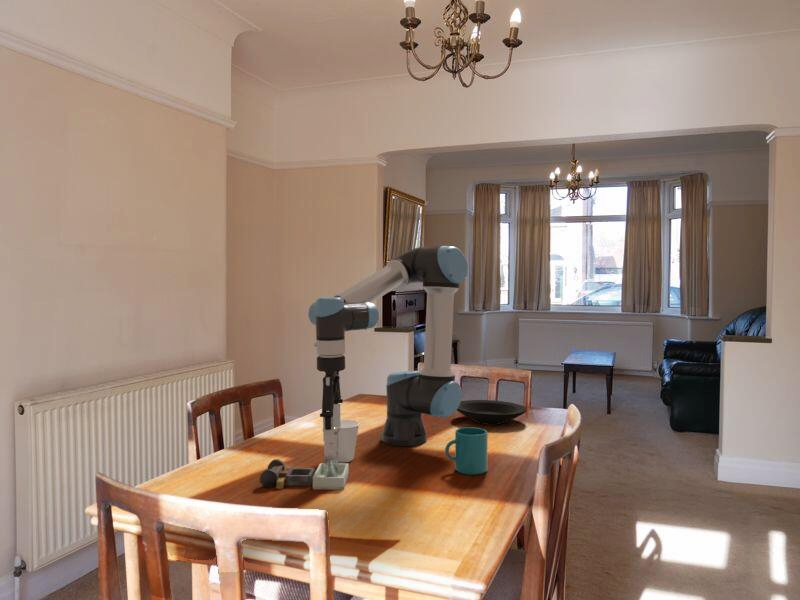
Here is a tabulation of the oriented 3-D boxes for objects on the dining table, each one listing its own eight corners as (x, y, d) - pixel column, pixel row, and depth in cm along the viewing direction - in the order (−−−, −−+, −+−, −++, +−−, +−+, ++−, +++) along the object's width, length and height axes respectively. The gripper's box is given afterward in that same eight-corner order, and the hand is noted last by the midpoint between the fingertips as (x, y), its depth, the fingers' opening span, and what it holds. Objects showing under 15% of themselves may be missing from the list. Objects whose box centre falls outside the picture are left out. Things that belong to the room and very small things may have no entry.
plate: (535, 419, 230) (535, 405, 230) (512, 433, 210) (512, 417, 209) (469, 410, 245) (469, 397, 245) (441, 423, 225) (441, 408, 224)
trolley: (315, 475, 165) (315, 459, 165) (309, 488, 155) (309, 471, 155) (269, 474, 166) (268, 459, 166) (259, 488, 155) (259, 471, 155)
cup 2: (442, 466, 173) (442, 427, 173) (482, 464, 175) (482, 426, 174) (448, 476, 164) (448, 436, 164) (490, 475, 166) (491, 434, 165)
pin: (340, 476, 163) (340, 425, 162) (338, 482, 158) (338, 429, 158) (324, 476, 163) (324, 425, 162) (321, 481, 158) (321, 429, 158)
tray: (348, 474, 166) (348, 463, 166) (343, 489, 154) (343, 478, 154) (319, 473, 166) (319, 463, 166) (312, 489, 154) (312, 477, 154)
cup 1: (364, 456, 182) (364, 421, 182) (351, 466, 173) (351, 428, 173) (335, 453, 186) (335, 418, 185) (320, 463, 176) (320, 426, 176)
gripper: (323, 349, 172) (325, 421, 173) (308, 363, 147) (310, 448, 148) (349, 348, 171) (351, 421, 173) (339, 362, 147) (340, 447, 148)
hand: (332, 434), depth 160 cm, fingers open, 13 cm apart
